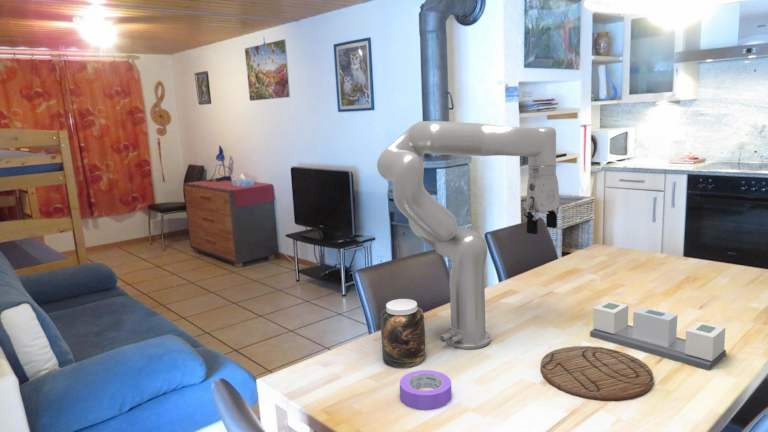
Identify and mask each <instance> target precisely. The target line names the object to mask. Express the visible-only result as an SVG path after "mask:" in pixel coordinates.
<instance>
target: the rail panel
mask: <svg viewBox="0 0 768 432" xmlns="http://www.w3.org/2000/svg"><path fill="white" fill-rule="evenodd" d="M589 332H590V333H589V337H591V338H595V339H598V340H602V341H604V342H605V341H606V342H608V343H613V344H615V345H619V346H623V347H626V348H629V349H633V350H636V351H640V352H643V353H647V354H650V355H653V356H656V357H660V358H664V359H668V360H671V361H674V362H677V363H682V364H684V365H688V366H691V367H695V368H698V369H703V370H706V371H711V370H712V369H713V368H714V366H716V365H717V364H718V363H719V362H721V360H722V359H724V358H725V357H726V355H727V350H726V349H724V351H723V352H722V353H721V354H719V355H718V356H717V357H716V358H715V359H714V360H713V361H710V360H706V359H703V358H699V357H695V356H692V355H688V354H685V343H686V338H681V337H677V336H676V341H675V342H673V343H672V344H671V345H669V346H665V345H661V344H657V343H654V342H650V341H646V340H643V339H639V338H635V337H633V325H629V324H628V326H626V327H625V328H623V329H621V330H620V331H618V332H616V333H615V334H612V333H608V332H605V331H601V330H597V329H594V328H592V330H590V331H589Z"/></svg>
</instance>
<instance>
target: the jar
mask: <svg viewBox="0 0 768 432" xmlns="http://www.w3.org/2000/svg"><path fill="white" fill-rule="evenodd" d="M385 304H386V305H385V309H383V310H382V311H381V313H380V335H381V336H380V337H381V339H380V340H381V356H382V361H383V363H384V364H385V365H386V366H388V367H391V368H396V369H397V368H398V369H409V368H413V367H417V366H419V365H421V364H423V363H424V362H425V361H426V357H427V351H426V349H427V348H426V328H425V313H424V311H423V309H422V308H420V307H419V306H418V303H417V301H416V300H414V299H410V298H398V299H392V300H390V301H388V302H386V303H385Z"/></svg>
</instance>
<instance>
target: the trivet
mask: <svg viewBox="0 0 768 432" xmlns="http://www.w3.org/2000/svg"><path fill="white" fill-rule="evenodd" d="M540 373H541V376H542V378H543V379H544V380H545V381H546V382H547V384H548V385H550V386H552V387H554V388H555V389H557V391H561V392H563V393H565V394H568V395H570V396H572V397H573V396H574V397H578V398H582V399H585V400H591V401H598V402H599V401H600V402H622V401H629V400H634V399H638V398H640V397H642V396H643V397H644V395H646V394H648V393H649V392H650V391H651V390H652V387H653V385H654V373H653V370H652V369H651V368H650V367H649V365H648V364H646V363H645V362H643V361H642V360H641V359H639V358H637V357H635V356H633V355H631V354H629V353H626V352H622V351H618V350H616V349H611V348H606V347H602V346H601V347H600V346H592V345H591V346H590V345H580V346H579V345H574V346H567V347H561V348H557V349H553V350H552V351H550V352H548V353H545V355H544V357H542V358H541V362H540Z"/></svg>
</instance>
